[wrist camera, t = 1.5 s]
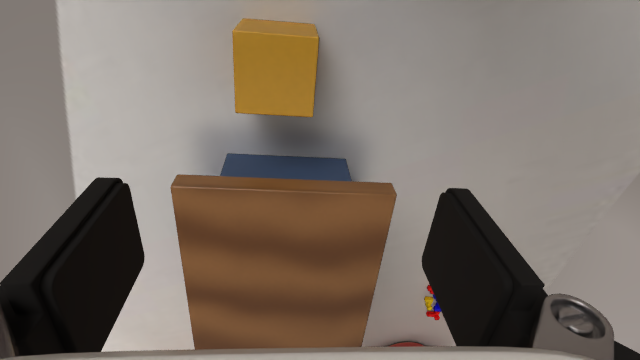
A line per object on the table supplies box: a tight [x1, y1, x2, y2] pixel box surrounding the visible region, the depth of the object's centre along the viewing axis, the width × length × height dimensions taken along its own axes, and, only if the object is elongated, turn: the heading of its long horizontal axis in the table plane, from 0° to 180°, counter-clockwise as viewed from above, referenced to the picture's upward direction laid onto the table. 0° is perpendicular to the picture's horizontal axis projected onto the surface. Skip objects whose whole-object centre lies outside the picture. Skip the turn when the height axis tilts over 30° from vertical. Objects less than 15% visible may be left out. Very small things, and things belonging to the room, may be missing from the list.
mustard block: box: [232, 18, 319, 117], centre depth 24 cm, size 5×5×5 cm
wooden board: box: [171, 175, 397, 350], centre depth 28 cm, size 20×14×2 cm
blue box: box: [220, 154, 351, 181], centre depth 32 cm, size 16×10×7 cm, turn 175°
